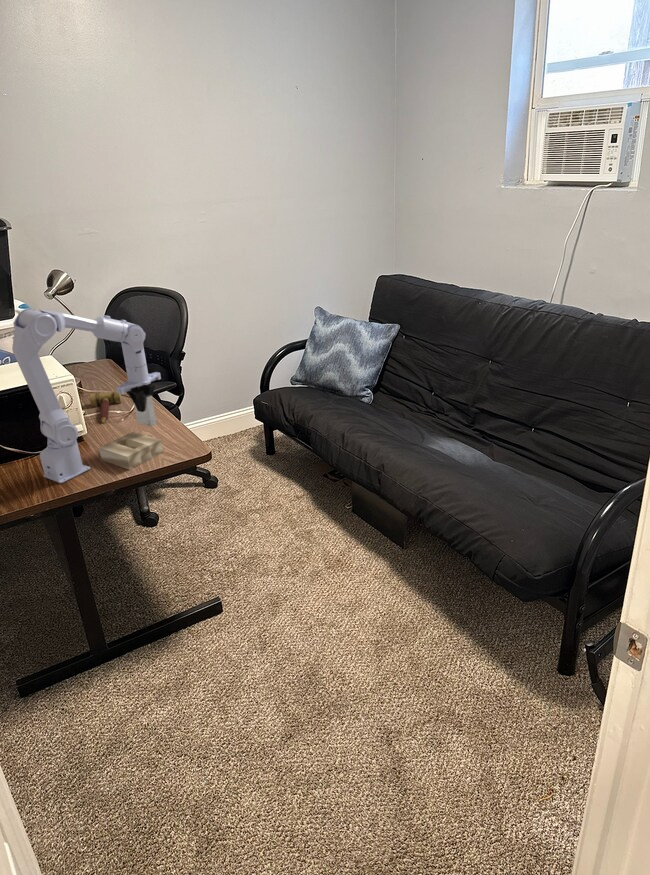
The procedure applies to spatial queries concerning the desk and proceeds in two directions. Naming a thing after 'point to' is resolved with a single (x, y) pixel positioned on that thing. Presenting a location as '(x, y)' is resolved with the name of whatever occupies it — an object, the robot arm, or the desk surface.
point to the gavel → (105, 402)
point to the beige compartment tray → (131, 450)
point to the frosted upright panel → (146, 412)
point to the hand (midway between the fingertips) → (144, 409)
